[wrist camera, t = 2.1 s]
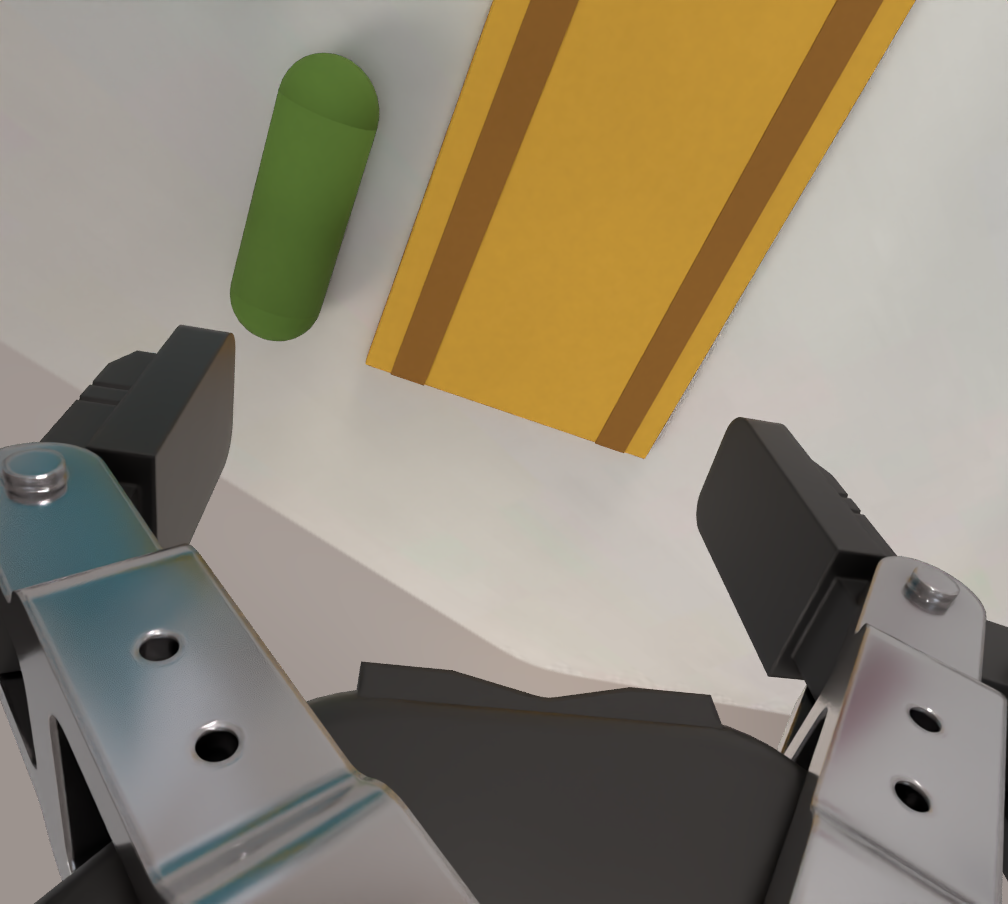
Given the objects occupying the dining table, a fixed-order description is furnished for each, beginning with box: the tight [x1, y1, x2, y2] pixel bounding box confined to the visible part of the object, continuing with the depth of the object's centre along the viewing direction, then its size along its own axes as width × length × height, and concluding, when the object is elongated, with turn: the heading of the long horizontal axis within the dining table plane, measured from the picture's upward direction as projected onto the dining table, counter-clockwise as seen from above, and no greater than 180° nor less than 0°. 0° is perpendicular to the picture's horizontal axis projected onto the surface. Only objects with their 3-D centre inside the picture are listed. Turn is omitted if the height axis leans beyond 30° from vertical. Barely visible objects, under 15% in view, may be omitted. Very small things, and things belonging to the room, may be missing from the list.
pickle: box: [230, 53, 379, 341], centre depth 29 cm, size 4×11×4 cm, turn 157°
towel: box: [366, 0, 916, 459], centre depth 31 cm, size 14×22×1 cm, turn 157°
